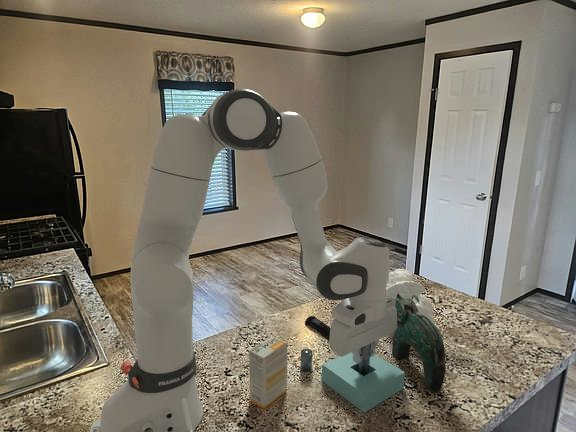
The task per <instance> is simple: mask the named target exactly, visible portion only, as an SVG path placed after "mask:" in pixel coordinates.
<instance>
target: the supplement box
mask: <svg viewBox="0 0 576 432" xmlns="http://www.w3.org/2000/svg"><path fill="white" fill-rule="evenodd" d="M248 356H249V358H248V360H249V361H248V362H249V365H248V366H249V369H248V370H249V371H248V372H249V401H250V402H252V403H253V404H255V405H256V406H258V407H260V408H261V409H263V410H265V409H266V408H268V407H270V405H271V404H273V403H274V402H275V401H276V400H278V399H279V398H280V397H281V396H283V395H284V394H285V393H286V392H287V390H288V389H287V388H288V342H287V341H285V340H282V339H280V338H279V337H276V336H273V335H272V336H271V337H269V338H267V339H266V340H264V341H262V342H260V343H259V344H257V345H256V346H253V348H251V349H249V350H248Z"/></svg>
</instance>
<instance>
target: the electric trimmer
mask: <svg viewBox="0 0 576 432" xmlns="http://www.w3.org/2000/svg"><path fill="white" fill-rule="evenodd" d="M304 323H305V325H307V326H310V327H312V328H314V329H315V330H316V331H318V332H320V334H321V335H322V336H324V337H325V338H328V339H330V328H331V326H329V325H327V324H326V323H325V322H323V321H322V320H320V319H319V318H318V317H316V316H313V315H310V316H308V317H306V319H305V321H304Z"/></svg>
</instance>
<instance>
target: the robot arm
mask: <svg viewBox="0 0 576 432" xmlns="http://www.w3.org/2000/svg"><path fill="white" fill-rule="evenodd" d="M225 149H229V150H231V151H232V150H233V151H247V152H248V151H259V152H260V153H261V155H262V157H264V160H265V161H266V164H267V167H268V170H269V173H270V176H271V179H272V182H273V184H274V186H275V188H276V189H275V190H276V191H277V193H278V195H279V196H280V199H281V200H282V202H283V203H284V205H285V207H286V208H287V210H288V211H289V213H290V215H291V216H290V217H291V218H292V221H293V223H294V224H293V225H294V228H295V230H296V234H297V237H298V240H299V244H300V253H299V267H300V269H301V270H300V271H301V272H302V275H304V276H305V277H306V278H307V279H308V280H309V281H310V283H311V284H312V285H313V287H314V288H315V290H316V291H317V292H318V294H320V295H321V296H322V297H323V298H325V299H327V300H329V301H341V300H342V301H341V302H339V304H337V305H335V306H334V307H333V308H332V310H331V317H332V318H334V319H333V320H332V322H331V324H330V338H329V349H330V350H331V351H332V352H333V353H334V354H335V355H338V357H339V356H341V357H342V356H345V355H347V354H349V353H351V352H352V354H353V361H354V362H355V363H357V364H358V363H360V362H362V358H363V356H362V355H361V354H359V351H360V348H362V347H364V346H366V345H368V344H370V343H371V352H370V357H372V356H374V354H375V352H376V351H375V350H376V348H377V347H378V345H379V342H380V340H381V339H383V338H385V337H387V336H390V335H392V334H394V332H395V331H396V328H397V310H396V307H395V303H396V302H395V300H394V299H393V298H392V297H388V298H387V290H386V285H387V282H388V279H389V272H390V265H391V264H390V260H391V259H390V251H389V248H388V246H387V245H386V244H385V243H384V242H382V241H380V240H378V239H375V238H372V237H366V236H360V237H359V236H358V237H356V238H355V239H354V240H353V241H352V242H351V243H350V244H348V245H347V246H346V247H344V248H342V249H340V250H337V249H336V247H334V245H333V244H331V243H330V242H329V240H328V239H327V237H326V235H325V231H324V226H323V224H322V220H321V217H320V213H319V204H320V202H321V201H322V200H323V199H324V198H325V195H326V194H327V191H328V189H329V188H328V187H329V185H328V178H327V171H326V166H325V164H324V161H323V158H322V154H321V152H320V149H319V146H318V143H317V140H316V138H315V136H314V135H313V132H312V130H311V129H310V127H309V124H308V122H307V121H306V119H305V118H304V117H303V116H302V115H301V114H300V113H298V112H293V111H283V112H279V111H278V110H277V109H276V108H274V106H273V105H272V104H271V103H269V102H268V100H266V98H265V97H263V96H262V95H261V94H260V93H258V92H255V91H253V90H252V89H251V90H250V89H247V88H235V89H232V90H230V91H226V92H224V93H222V94H220V95H219V96H218V97H217V98H215V99H214V101H213V102H212V104H211V105H209V106H208V107H207V109H206V110H205V111H204V112H203V113H202V114H201V115H193V114H190V113H189V114H188V113H180V114H176V115H173V116H170V117H169V118H168V119H167V120H166V121H165V123H164V125H163V128H162V130H161V131H160V135H159V136H158V140H157V143H156V146H155V149H154V154H153V157H152V161H151V165H150V170H149V175H148V180H147V185H146V190H145V195H144V200H143V207H142V210H141V214H140V218H139V222H138V227H137V231H136V236H135V241H134V244H133V250H132V253H131V261H130V263H131V264H130V265H131V266H130V267H131V268H130V292H131V293H130V294H131V303H132V314H133V323H134V332H135V344H136V361H135V363H134V364H133V365H132V363H131V361H129V360H126V361H123V362H122V363H121V365H120V369H121V371H122V373H123V374H124V375H127V380H126V382H124V383H123V384H122V385H121V386H120V387H119V388H118V389H117V390H116V391H115V392H114V393H113V394H111V395H110V397H108V398H107V399H106V400H105V402H104V403H103V407H102V409H101V413H100V417H99V418H98V419H96V420H94V421H93V423H92V424H91V426H90V428H89V432H194V431H195V430H196V428H197V427H198V425H200V423H201V421H202V419H203V417H204V406H203V404H202V401H201V399H200V397H199V393H198V387H197V382H196V376H197V359H196V352H195V351H194V342H193V341H194V338H193V337H194V336H193V310H194V290H195V289H194V287H195V285H194V283H195V282H194V278H195V277H194V272H193V269H192V267H191V263H190V249H191V247H192V243H193V239H194V237H195V234H196V231H197V229H198V226H199V224H200V222H201V220H202V217H203V214H204V213H203V212H204V208H205V203H206V199H207V195H208V190H209V186H210V183H211V176H212V171H213V166H214V163H215V160H216V158H217V157H218V155H219V154H220V152H221V151H223V150H225ZM375 355H376V354H375Z"/></svg>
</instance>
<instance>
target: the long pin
mask: <svg viewBox="0 0 576 432" xmlns="http://www.w3.org/2000/svg"><path fill="white" fill-rule="evenodd" d="M370 352H371V343H370V344H368V345H366V346H364V347H362V348H360V351H359V354H361V355H362V356H363V358H362V362H360V363H358V364H357V372H358V373H360V374H361V375H363V376H365V375H367V374H369V366H370Z"/></svg>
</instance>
